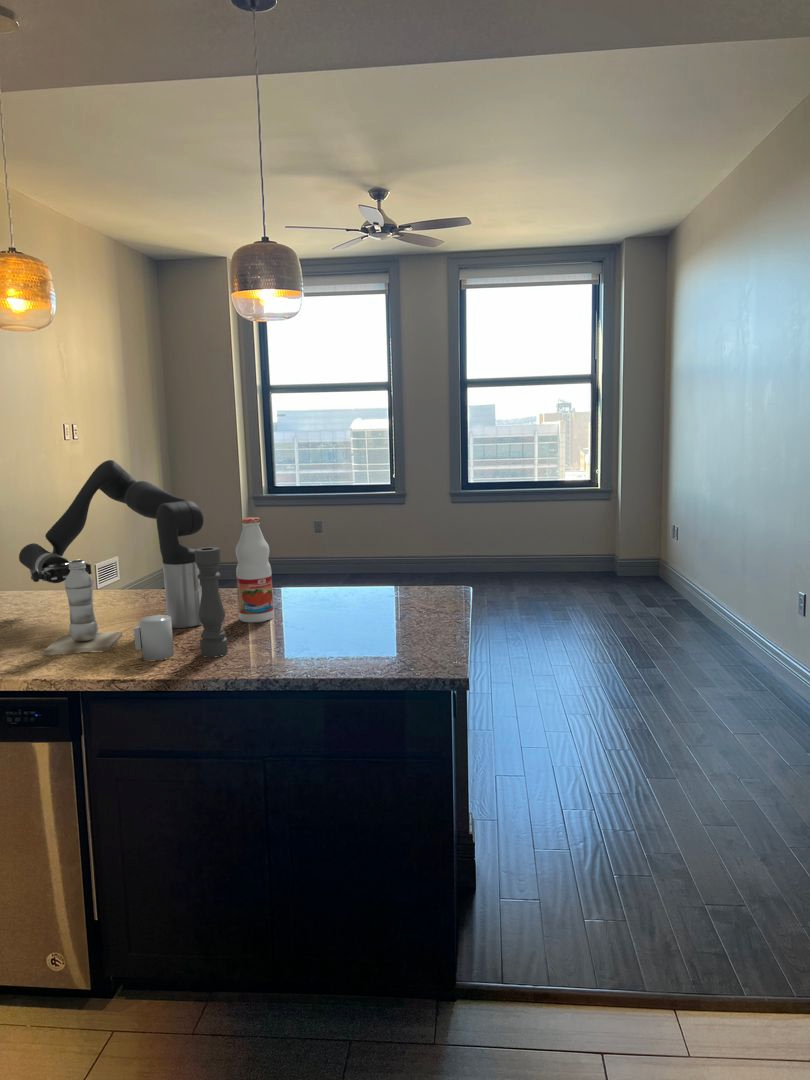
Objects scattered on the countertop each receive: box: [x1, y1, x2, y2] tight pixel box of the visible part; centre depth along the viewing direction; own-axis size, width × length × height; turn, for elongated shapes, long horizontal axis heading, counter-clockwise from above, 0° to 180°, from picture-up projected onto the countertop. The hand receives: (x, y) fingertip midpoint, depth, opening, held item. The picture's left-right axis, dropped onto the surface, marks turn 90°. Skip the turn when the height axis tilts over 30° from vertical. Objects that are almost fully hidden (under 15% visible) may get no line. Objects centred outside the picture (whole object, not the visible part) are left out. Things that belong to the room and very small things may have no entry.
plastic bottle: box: [63, 559, 99, 641], centre depth 185 cm, size 6×7×20 cm
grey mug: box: [133, 614, 175, 661], centre depth 175 cm, size 8×7×9 cm
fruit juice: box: [235, 516, 275, 624], centre depth 205 cm, size 9×9×28 cm
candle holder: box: [194, 546, 229, 658], centre depth 175 cm, size 6×6×25 cm
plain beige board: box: [43, 631, 124, 656], centre depth 186 cm, size 15×13×1 cm
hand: (67, 575), depth 194 cm, fingers open, 8 cm apart
